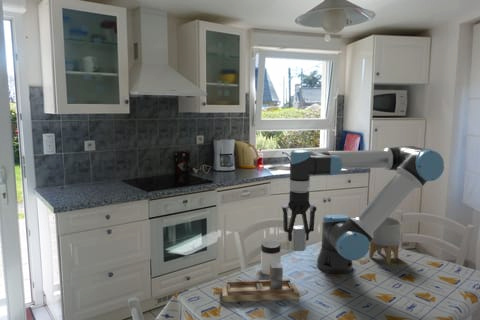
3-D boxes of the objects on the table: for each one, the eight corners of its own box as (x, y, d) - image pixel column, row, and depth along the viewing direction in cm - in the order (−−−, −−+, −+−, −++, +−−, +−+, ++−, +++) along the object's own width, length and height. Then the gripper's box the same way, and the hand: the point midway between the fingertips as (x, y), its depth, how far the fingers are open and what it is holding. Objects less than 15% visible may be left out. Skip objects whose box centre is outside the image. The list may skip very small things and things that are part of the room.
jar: (268, 277, 151) (268, 249, 149) (256, 270, 158) (256, 243, 156) (284, 272, 156) (285, 245, 154) (272, 265, 163) (273, 239, 161)
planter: (403, 263, 165) (405, 225, 163) (374, 263, 165) (376, 225, 163) (391, 252, 178) (394, 216, 175) (365, 251, 178) (366, 216, 176)
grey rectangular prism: (294, 251, 143) (294, 228, 141) (291, 247, 147) (292, 225, 145) (304, 250, 143) (305, 228, 142) (302, 247, 147) (302, 225, 146)
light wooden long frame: (294, 288, 142) (295, 260, 140) (299, 299, 134) (300, 269, 132) (222, 291, 140) (221, 262, 138) (222, 302, 132) (222, 271, 130)
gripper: (318, 188, 146) (316, 244, 149) (275, 188, 144) (274, 245, 148) (324, 192, 138) (322, 251, 142) (279, 193, 137) (278, 252, 140)
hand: (298, 248), depth 145 cm, fingers closed on grey rectangular prism, 4 cm apart
